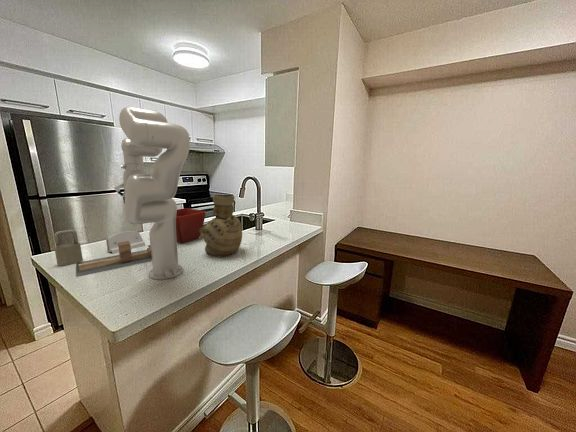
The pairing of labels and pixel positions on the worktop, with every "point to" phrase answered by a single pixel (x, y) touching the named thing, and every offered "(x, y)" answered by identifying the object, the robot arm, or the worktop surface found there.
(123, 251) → the slider leg
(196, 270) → the worktop surface
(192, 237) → the plant pot
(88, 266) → the rail
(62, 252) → the padlock
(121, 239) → the hinge
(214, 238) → the ceramic vessel
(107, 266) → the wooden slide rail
